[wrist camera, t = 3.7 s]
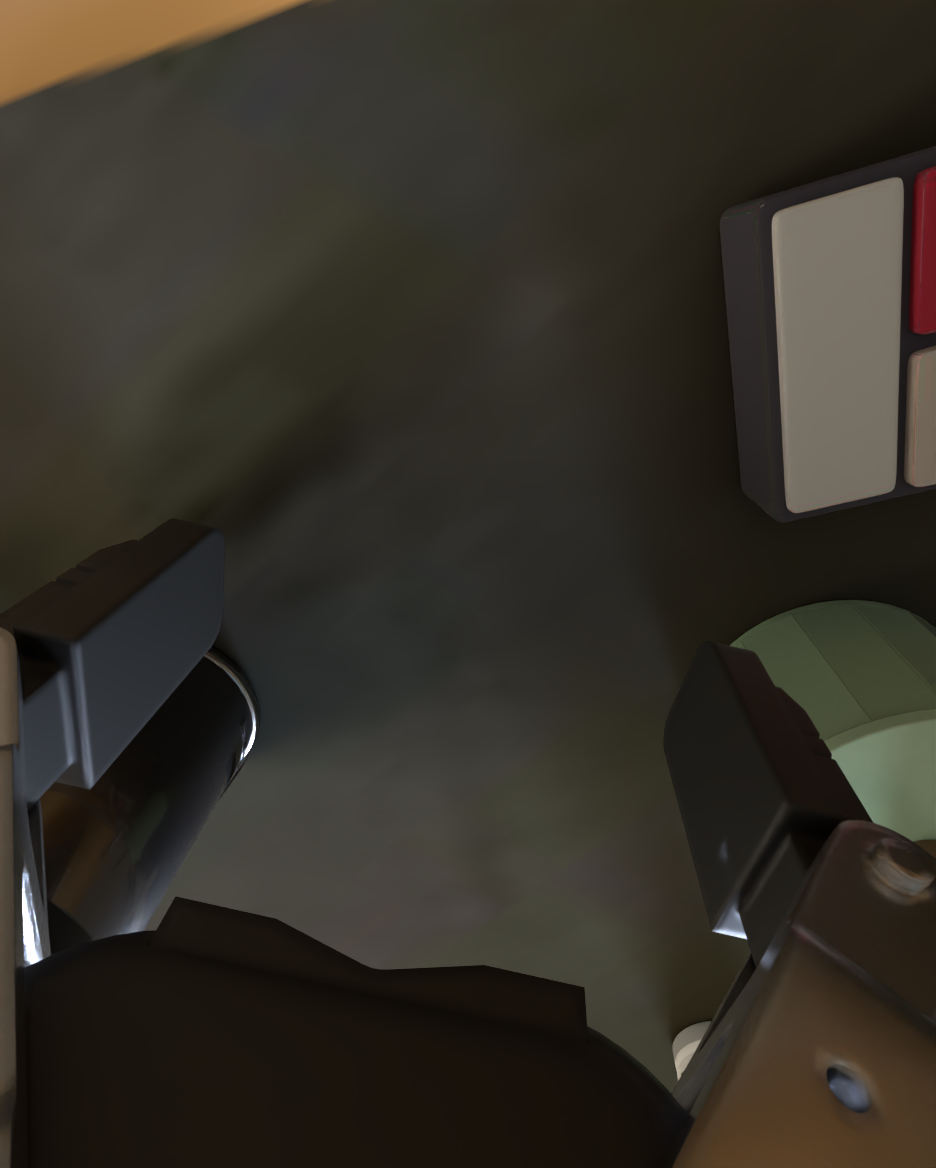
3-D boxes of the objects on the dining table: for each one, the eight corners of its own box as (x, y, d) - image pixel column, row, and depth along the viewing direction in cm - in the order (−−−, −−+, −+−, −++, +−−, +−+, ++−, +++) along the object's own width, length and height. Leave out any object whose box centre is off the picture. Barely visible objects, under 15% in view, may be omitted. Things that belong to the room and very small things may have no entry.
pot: (652, 817, 36) (685, 964, 29) (754, 527, 28) (838, 626, 20) (873, 850, 36) (966, 1007, 28) (1043, 567, 28) (1236, 682, 20)
